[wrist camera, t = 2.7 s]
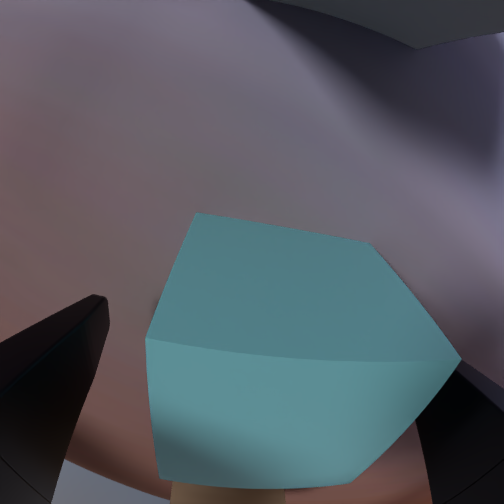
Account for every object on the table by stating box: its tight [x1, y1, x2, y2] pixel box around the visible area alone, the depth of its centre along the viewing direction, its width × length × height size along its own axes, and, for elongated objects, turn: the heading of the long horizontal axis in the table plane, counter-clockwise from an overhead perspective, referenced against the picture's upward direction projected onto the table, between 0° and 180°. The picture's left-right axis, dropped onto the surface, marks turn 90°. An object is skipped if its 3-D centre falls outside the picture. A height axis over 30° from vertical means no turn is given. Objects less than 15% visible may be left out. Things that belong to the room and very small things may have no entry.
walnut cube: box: [170, 481, 286, 504], centre depth 12 cm, size 5×5×5 cm
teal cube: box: [145, 212, 462, 489], centre depth 7 cm, size 5×5×5 cm
